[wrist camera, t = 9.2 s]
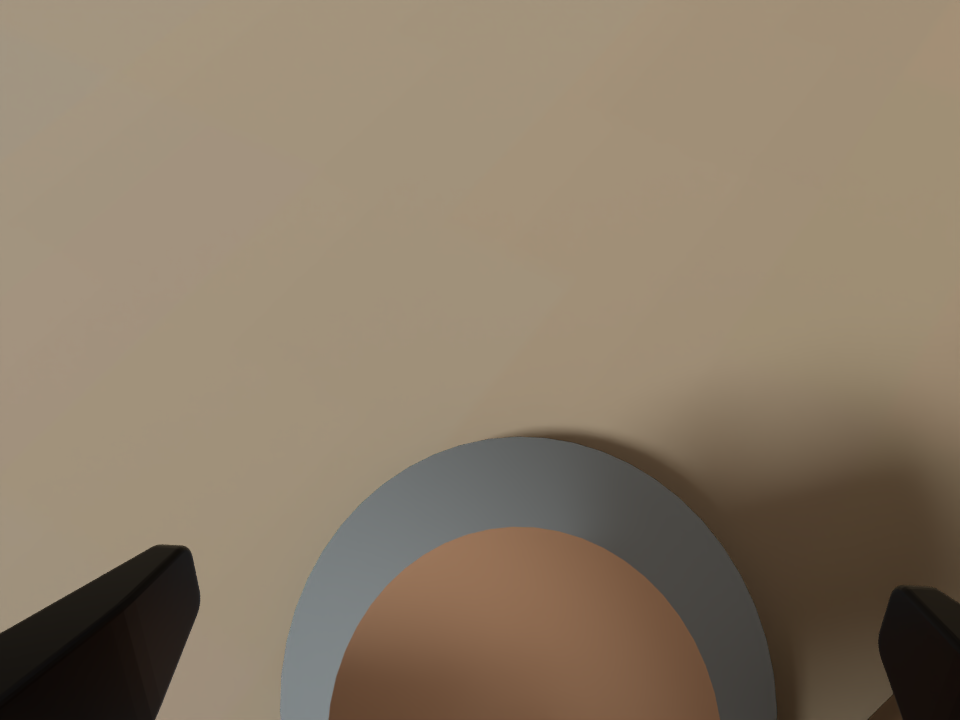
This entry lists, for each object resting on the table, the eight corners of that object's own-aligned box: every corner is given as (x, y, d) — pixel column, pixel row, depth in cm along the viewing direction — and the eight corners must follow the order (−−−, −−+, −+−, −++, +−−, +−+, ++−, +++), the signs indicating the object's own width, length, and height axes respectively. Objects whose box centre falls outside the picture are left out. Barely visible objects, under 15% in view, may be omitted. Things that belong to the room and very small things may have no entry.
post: (565, 819, 14) (622, 1081, 6) (402, 716, 15) (251, 816, 7) (643, 636, 15) (780, 641, 7) (487, 551, 16) (446, 465, 8)
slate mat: (482, 1104, 13) (478, 1139, 13) (211, 628, 17) (193, 628, 16) (865, 721, 15) (888, 727, 15) (552, 368, 19) (553, 355, 18)
